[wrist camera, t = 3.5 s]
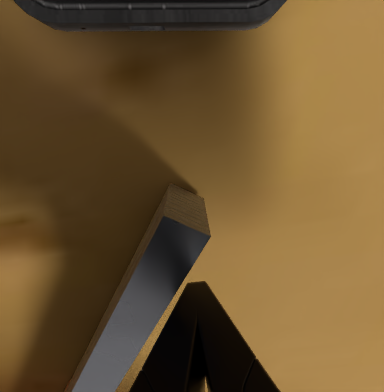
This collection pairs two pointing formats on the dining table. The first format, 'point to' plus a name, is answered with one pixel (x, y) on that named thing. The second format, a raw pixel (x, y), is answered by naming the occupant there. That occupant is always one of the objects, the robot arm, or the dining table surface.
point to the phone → (151, 14)
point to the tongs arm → (144, 290)
